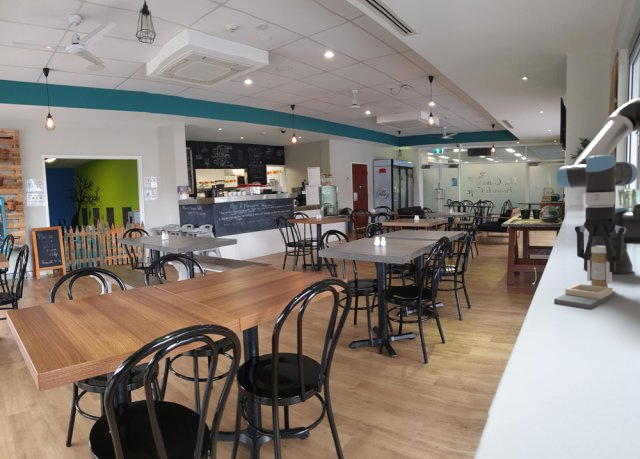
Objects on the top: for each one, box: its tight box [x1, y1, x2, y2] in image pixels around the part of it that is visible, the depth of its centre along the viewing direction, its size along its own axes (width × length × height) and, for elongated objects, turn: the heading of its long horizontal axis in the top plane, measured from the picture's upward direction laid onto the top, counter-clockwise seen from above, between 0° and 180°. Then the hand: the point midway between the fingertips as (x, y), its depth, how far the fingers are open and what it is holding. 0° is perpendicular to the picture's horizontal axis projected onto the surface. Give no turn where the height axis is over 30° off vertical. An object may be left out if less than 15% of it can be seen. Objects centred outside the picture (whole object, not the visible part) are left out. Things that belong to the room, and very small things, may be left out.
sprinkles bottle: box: [590, 246, 609, 287], centre depth 130 cm, size 5×5×14 cm
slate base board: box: [553, 283, 615, 310], centre depth 119 cm, size 18×9×3 cm, turn 128°
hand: (599, 281), depth 130 cm, fingers closed on sprinkles bottle, 4 cm apart
